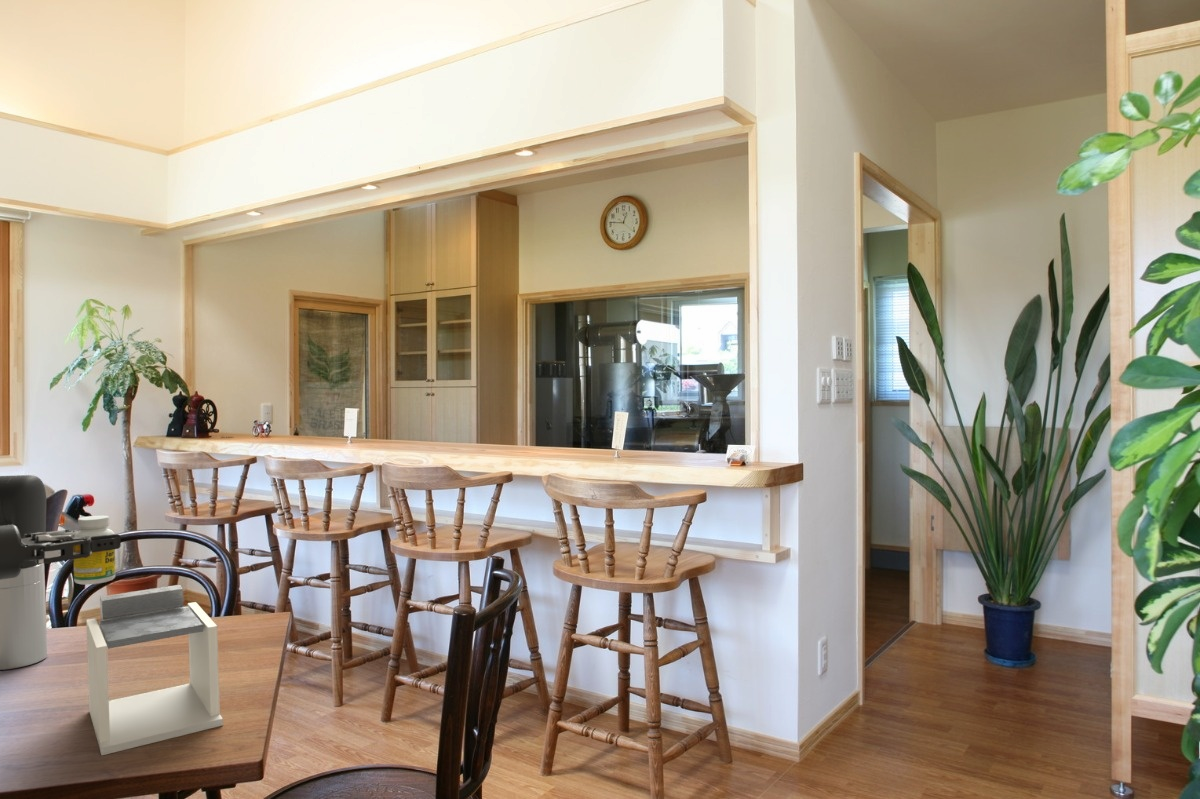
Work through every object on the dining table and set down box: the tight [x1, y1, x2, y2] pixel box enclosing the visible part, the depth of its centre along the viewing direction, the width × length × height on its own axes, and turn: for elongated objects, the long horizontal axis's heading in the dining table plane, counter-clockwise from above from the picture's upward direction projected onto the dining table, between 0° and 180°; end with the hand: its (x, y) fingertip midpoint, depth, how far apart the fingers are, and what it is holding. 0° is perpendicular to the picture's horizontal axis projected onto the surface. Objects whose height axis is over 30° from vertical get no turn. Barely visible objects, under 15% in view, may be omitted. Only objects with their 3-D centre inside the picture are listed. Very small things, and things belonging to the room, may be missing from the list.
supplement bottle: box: [73, 514, 116, 585], centre depth 123 cm, size 5×5×10 cm
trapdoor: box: [98, 584, 203, 650], centre depth 122 cm, size 16×12×4 cm
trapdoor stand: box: [85, 601, 224, 756], centre depth 120 cm, size 18×15×14 cm
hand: (113, 538), depth 125 cm, fingers closed on supplement bottle, 5 cm apart
